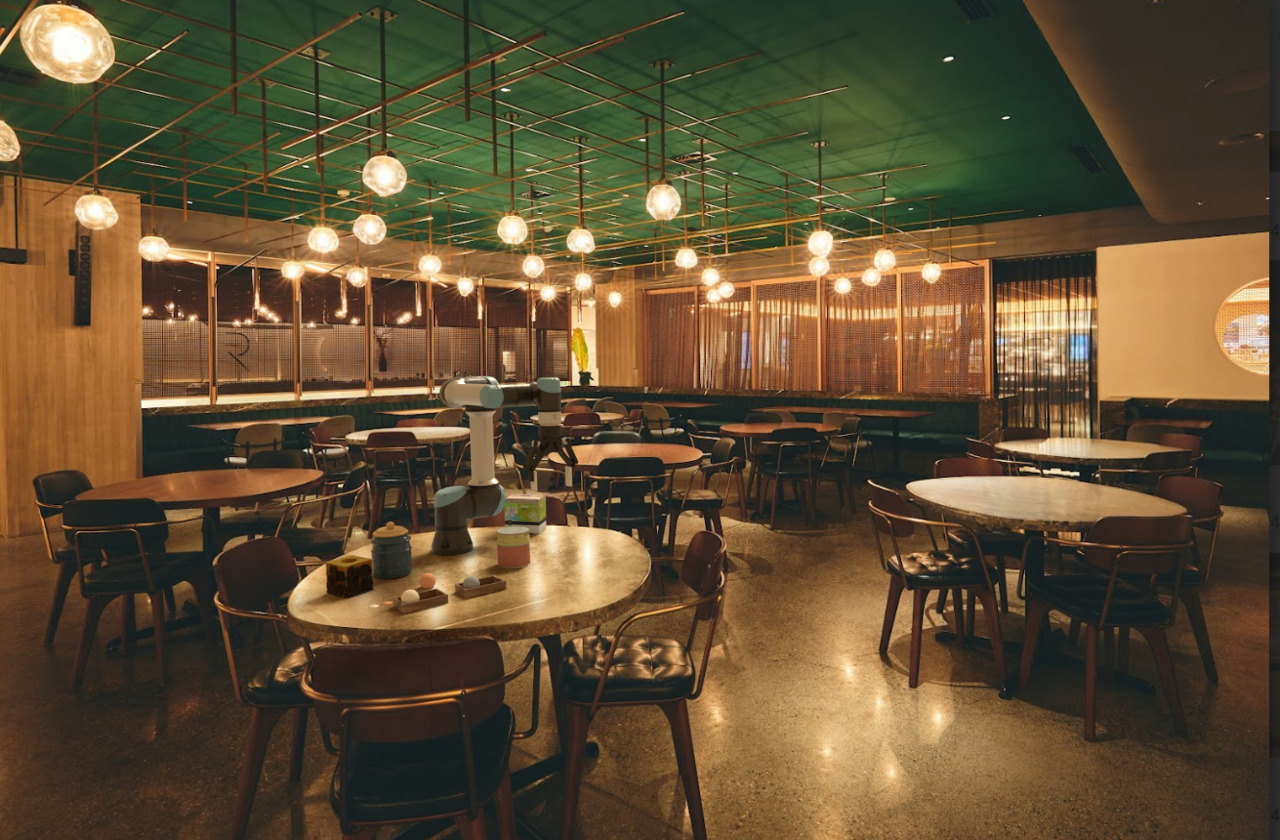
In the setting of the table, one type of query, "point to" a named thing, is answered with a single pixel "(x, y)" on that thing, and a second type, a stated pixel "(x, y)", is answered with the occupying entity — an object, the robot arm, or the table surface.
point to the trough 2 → (482, 586)
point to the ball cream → (409, 596)
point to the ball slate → (471, 582)
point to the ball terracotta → (427, 581)
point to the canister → (391, 552)
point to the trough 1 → (422, 601)
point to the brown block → (349, 576)
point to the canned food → (513, 546)
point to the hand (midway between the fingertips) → (551, 488)
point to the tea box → (526, 512)
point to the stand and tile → (378, 605)
